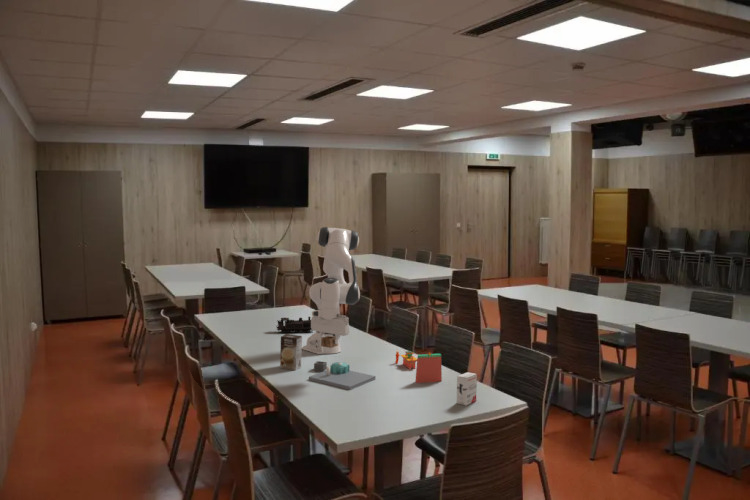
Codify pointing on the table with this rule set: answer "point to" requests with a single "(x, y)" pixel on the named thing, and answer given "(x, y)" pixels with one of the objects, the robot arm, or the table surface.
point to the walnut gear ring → (328, 341)
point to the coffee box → (290, 352)
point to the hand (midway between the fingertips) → (329, 342)
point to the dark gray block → (320, 366)
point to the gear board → (341, 376)
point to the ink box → (466, 388)
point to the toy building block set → (423, 366)
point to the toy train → (294, 325)
